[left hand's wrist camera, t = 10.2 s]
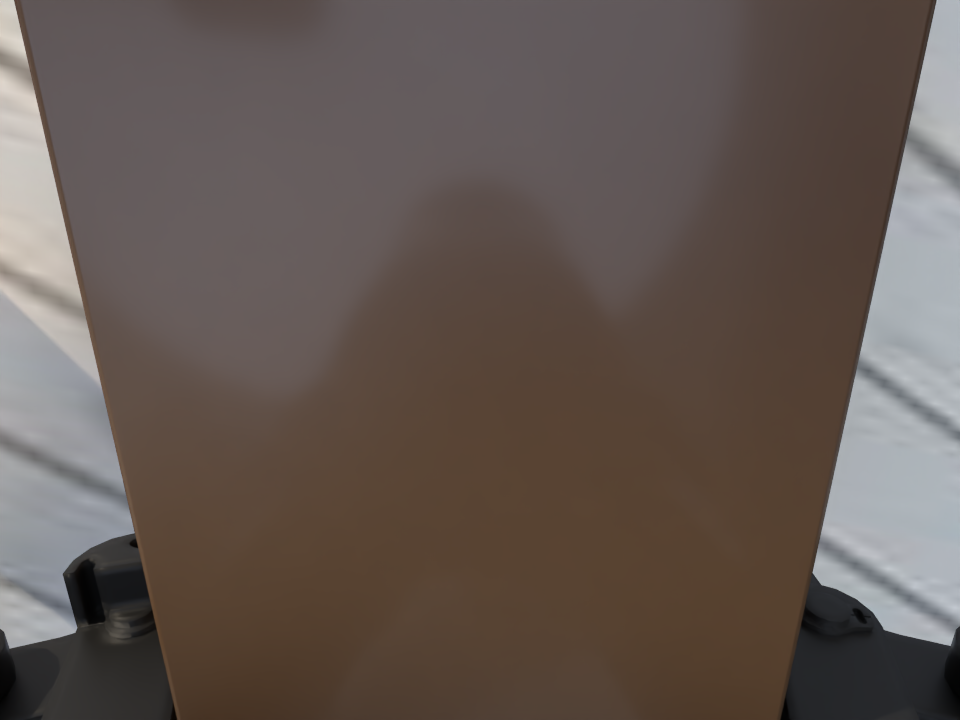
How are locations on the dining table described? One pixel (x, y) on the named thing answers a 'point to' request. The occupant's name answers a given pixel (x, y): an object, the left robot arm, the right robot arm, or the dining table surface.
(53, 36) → the bar
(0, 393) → the dining table surface
